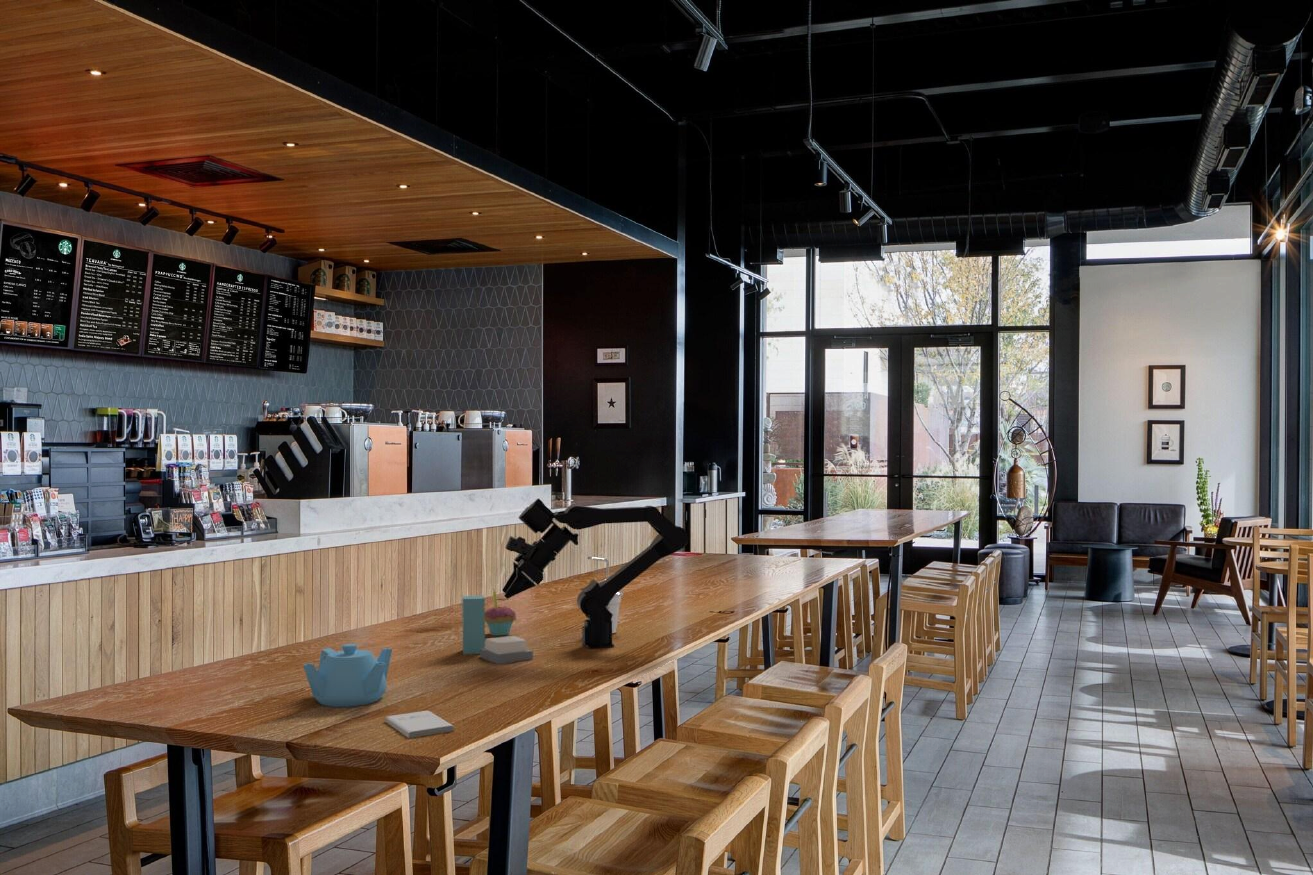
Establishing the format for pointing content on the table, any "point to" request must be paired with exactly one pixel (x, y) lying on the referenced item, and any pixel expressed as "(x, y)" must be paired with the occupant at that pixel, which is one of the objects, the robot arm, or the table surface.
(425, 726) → the external hard drive
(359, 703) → the teapot
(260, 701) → the table surface
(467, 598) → the teal pillar
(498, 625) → the cupcake
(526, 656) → the tower base slab
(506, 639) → the tower top slab
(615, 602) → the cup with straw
